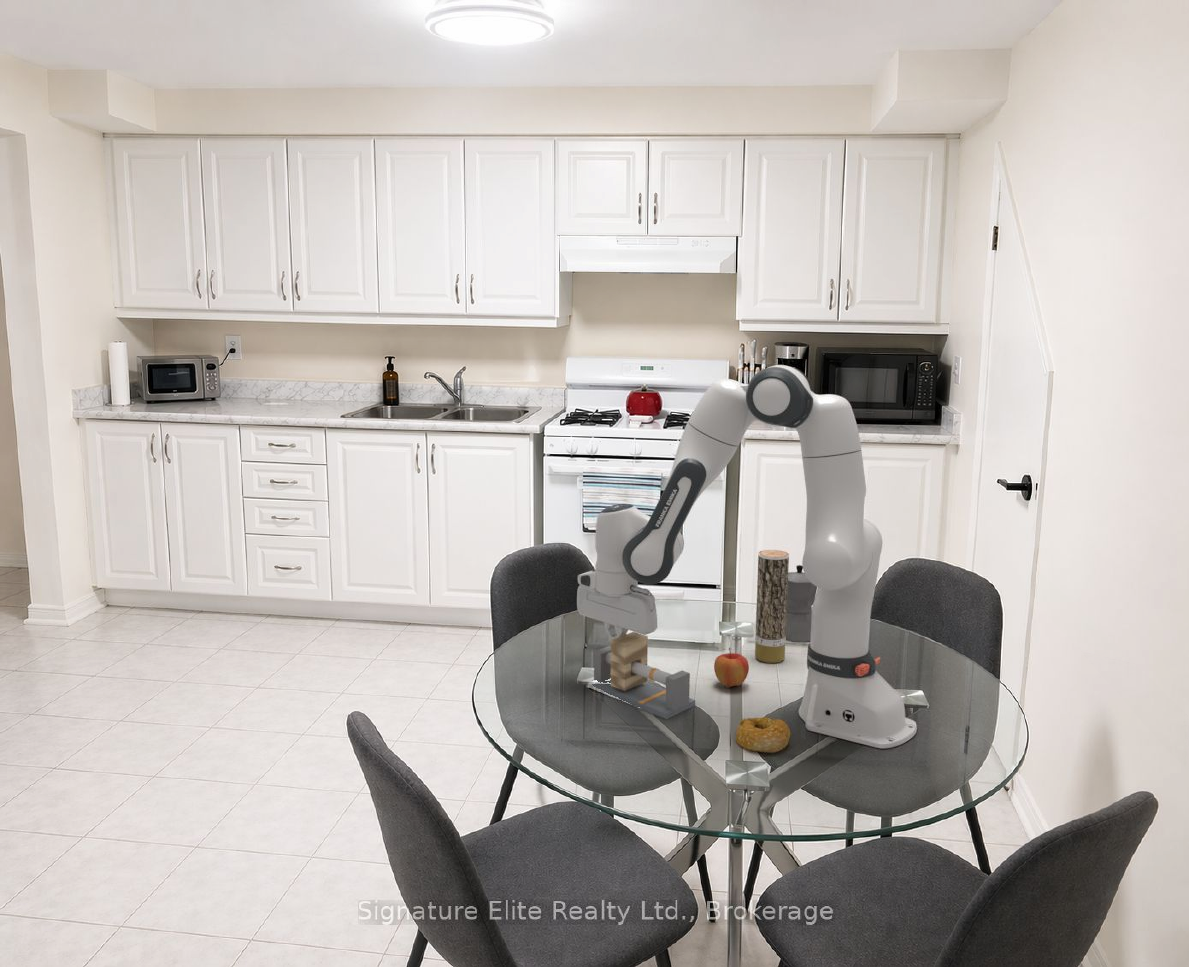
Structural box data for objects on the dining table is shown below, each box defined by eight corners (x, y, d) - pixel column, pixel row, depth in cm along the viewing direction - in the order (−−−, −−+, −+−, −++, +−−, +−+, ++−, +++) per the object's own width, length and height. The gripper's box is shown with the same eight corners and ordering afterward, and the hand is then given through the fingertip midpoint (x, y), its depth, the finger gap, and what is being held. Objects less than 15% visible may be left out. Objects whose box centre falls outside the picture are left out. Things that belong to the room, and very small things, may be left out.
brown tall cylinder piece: (783, 654, 222) (787, 550, 217) (786, 664, 216) (790, 558, 211) (753, 652, 223) (757, 549, 218) (755, 663, 216) (759, 557, 212)
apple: (721, 694, 199) (722, 658, 198) (708, 681, 206) (709, 646, 205) (753, 690, 201) (755, 654, 200) (739, 677, 208) (740, 642, 207)
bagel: (781, 729, 183) (782, 705, 182) (796, 756, 173) (796, 731, 172) (730, 730, 183) (730, 707, 182) (741, 758, 172) (742, 733, 171)
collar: (647, 681, 201) (647, 636, 199) (624, 690, 196) (625, 644, 194) (633, 676, 204) (633, 631, 202) (610, 685, 199) (610, 639, 197)
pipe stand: (695, 705, 194) (696, 670, 192) (666, 719, 187) (667, 682, 186) (616, 676, 209) (616, 643, 207) (587, 688, 202) (587, 654, 201)
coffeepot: (766, 639, 232) (769, 567, 229) (773, 626, 241) (775, 558, 237) (831, 646, 227) (834, 574, 224) (835, 634, 236) (839, 563, 232)
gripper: (664, 587, 193) (663, 652, 196) (592, 568, 208) (592, 629, 210) (643, 594, 189) (643, 660, 192) (571, 574, 203) (572, 636, 206)
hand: (616, 644), depth 201 cm, fingers closed
